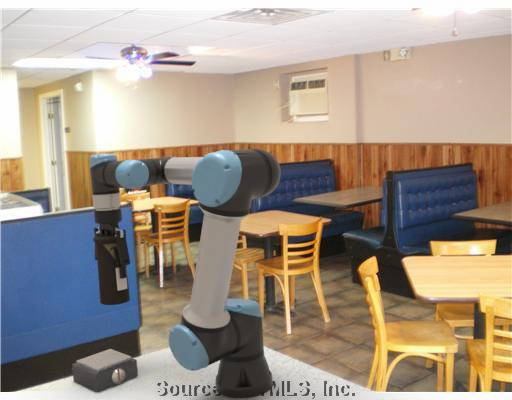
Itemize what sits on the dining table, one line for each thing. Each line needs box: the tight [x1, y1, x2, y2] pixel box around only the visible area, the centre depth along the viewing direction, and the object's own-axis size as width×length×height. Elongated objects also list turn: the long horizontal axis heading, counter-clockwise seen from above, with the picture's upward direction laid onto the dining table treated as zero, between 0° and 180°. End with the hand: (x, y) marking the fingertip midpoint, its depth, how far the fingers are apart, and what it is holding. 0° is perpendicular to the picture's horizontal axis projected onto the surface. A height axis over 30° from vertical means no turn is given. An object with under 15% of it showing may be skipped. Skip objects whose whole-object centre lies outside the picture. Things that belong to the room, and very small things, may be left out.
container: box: [92, 234, 131, 306], centre depth 159 cm, size 9×9×20 cm
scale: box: [71, 348, 139, 393], centre depth 158 cm, size 14×13×6 cm
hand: (114, 287), depth 160 cm, fingers closed on container, 8 cm apart
